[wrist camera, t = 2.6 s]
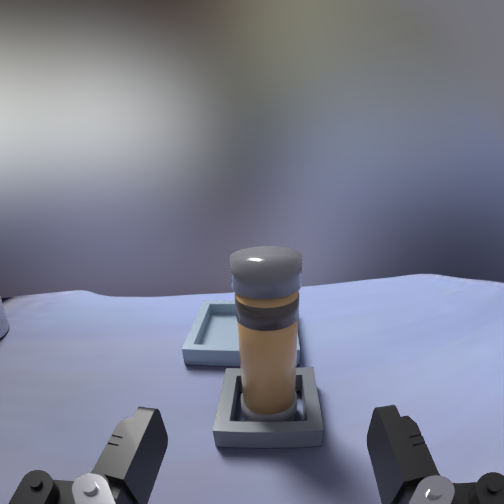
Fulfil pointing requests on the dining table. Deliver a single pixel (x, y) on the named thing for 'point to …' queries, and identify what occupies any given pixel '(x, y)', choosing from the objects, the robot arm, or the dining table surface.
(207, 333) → the parts tray
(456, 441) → the dining table surface
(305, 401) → the socket block
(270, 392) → the grey capped cylinder
